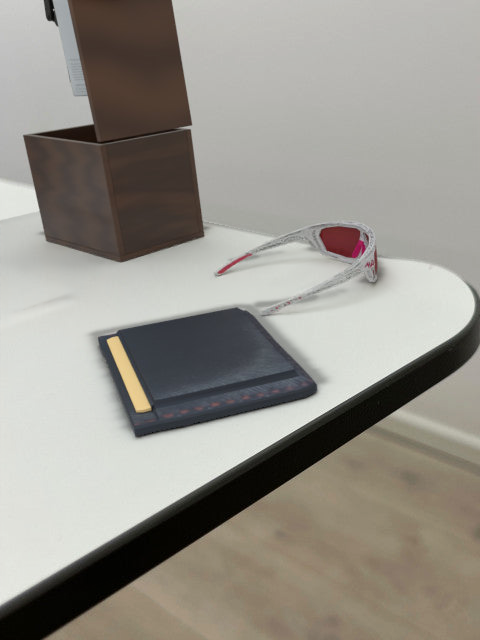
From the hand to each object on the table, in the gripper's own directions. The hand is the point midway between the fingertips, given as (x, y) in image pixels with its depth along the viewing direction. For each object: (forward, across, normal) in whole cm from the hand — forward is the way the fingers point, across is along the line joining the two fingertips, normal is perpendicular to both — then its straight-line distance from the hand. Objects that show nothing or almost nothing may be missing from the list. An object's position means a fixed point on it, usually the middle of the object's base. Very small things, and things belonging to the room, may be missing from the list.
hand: (98, 82), depth 97 cm
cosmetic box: (+2, 0, 0) cm, 2 cm away
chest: (+20, 0, 0) cm, 20 cm away
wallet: (+21, +41, -21) cm, 50 cm away
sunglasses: (+21, +33, +1) cm, 39 cm away
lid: (-4, +8, 0) cm, 9 cm away
